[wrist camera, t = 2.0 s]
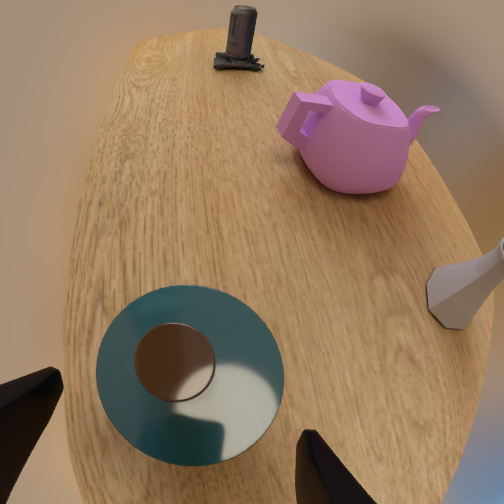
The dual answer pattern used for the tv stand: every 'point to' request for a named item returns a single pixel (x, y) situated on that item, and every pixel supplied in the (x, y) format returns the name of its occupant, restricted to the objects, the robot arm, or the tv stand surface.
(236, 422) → the lid
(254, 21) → the beverage can
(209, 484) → the tv stand surface
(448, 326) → the flask
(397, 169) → the teapot
